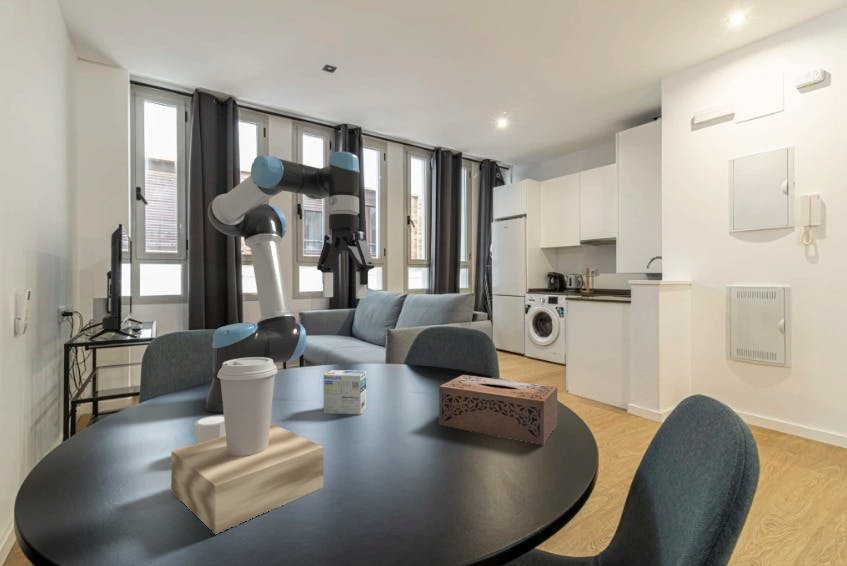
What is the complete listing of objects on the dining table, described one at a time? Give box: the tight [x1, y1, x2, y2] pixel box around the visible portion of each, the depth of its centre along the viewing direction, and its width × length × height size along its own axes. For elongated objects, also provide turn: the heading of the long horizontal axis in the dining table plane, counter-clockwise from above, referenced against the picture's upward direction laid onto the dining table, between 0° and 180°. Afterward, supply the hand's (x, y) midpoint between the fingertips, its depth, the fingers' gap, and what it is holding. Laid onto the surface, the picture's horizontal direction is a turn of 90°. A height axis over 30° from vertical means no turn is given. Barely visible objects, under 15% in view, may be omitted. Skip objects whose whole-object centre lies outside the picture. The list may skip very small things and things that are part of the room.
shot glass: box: [193, 414, 226, 444], centre depth 84 cm, size 7×7×7 cm
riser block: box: [170, 422, 325, 534], centre depth 70 cm, size 18×18×7 cm
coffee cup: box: [217, 357, 279, 456], centre depth 70 cm, size 10×10×15 cm
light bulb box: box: [323, 369, 368, 415], centre depth 113 cm, size 11×7×11 cm, turn 84°
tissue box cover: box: [438, 374, 558, 446], centre depth 101 cm, size 26×14×10 cm, turn 60°
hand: (344, 297), depth 103 cm, fingers open, 13 cm apart
